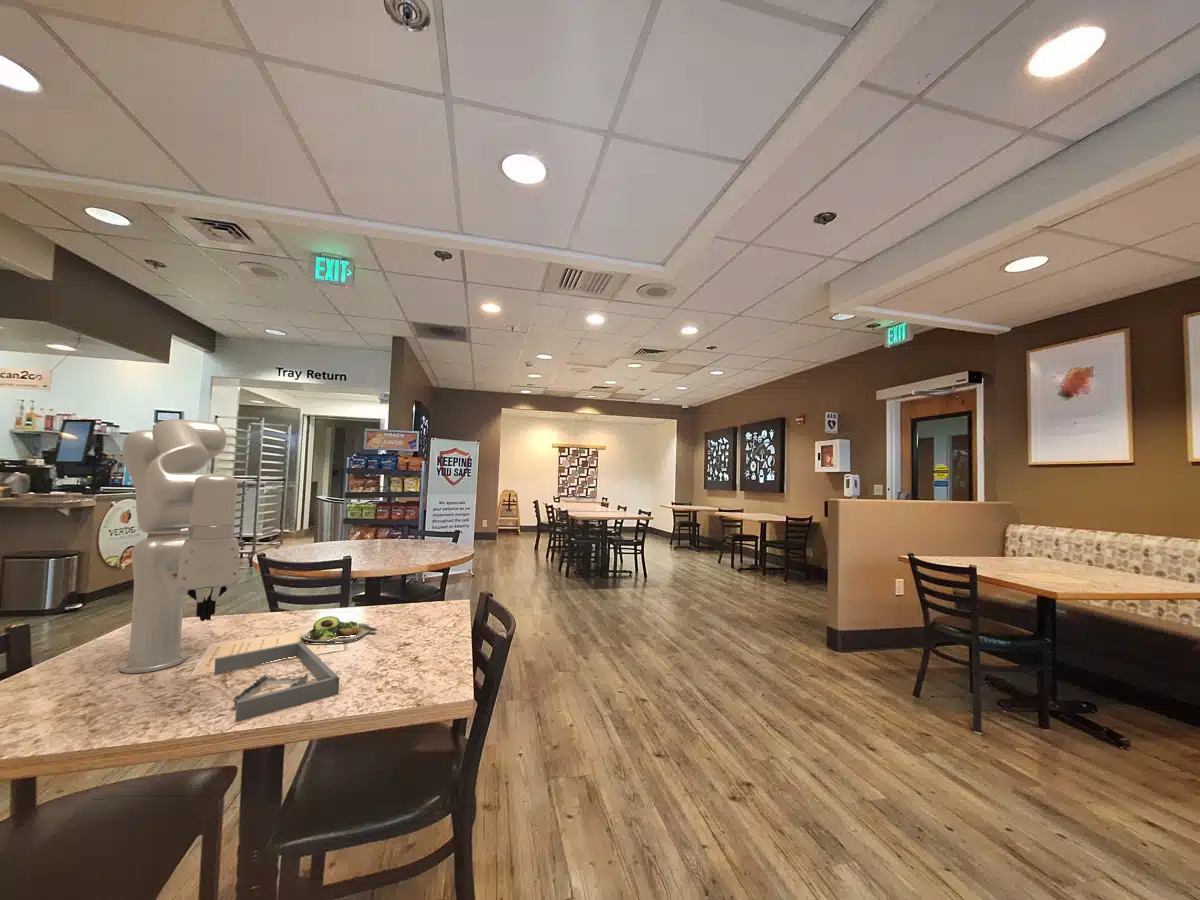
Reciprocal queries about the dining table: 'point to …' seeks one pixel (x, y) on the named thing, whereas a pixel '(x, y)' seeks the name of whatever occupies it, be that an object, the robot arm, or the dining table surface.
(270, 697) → the box
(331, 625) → the salad plate
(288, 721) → the dining table surface
